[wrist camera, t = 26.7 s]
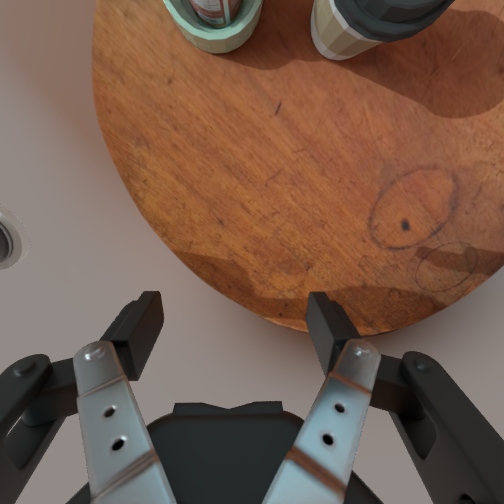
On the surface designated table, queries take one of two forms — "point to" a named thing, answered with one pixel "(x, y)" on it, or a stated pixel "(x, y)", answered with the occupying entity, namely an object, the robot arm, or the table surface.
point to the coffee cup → (368, 23)
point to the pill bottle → (216, 11)
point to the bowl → (212, 36)
